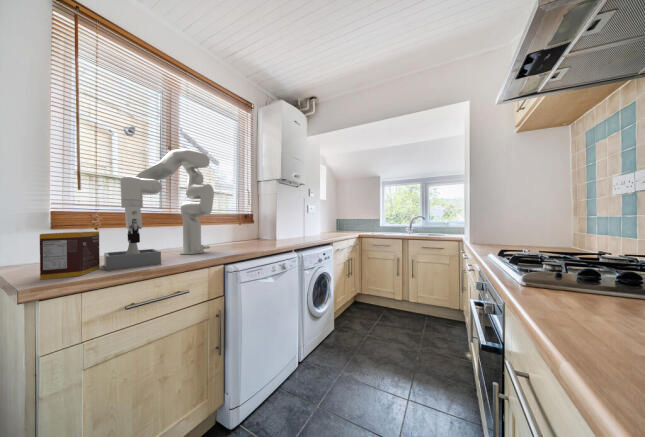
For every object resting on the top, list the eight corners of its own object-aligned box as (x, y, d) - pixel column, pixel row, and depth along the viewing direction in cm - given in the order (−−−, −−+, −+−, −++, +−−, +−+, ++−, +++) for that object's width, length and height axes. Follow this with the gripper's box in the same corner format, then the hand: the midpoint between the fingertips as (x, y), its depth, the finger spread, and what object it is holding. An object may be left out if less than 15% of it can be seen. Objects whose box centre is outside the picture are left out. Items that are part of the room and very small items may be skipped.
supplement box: (100, 268, 95) (99, 231, 96) (80, 276, 82) (80, 232, 82) (65, 271, 91) (65, 232, 91) (39, 279, 77) (38, 233, 77)
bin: (153, 259, 116) (153, 248, 116) (161, 263, 103) (160, 251, 103) (104, 265, 103) (104, 252, 103) (106, 270, 91) (106, 256, 91)
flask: (147, 260, 107) (147, 239, 107) (132, 263, 100) (132, 240, 100) (133, 260, 108) (133, 239, 108) (117, 263, 100) (117, 240, 100)
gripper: (145, 203, 100) (147, 242, 101) (139, 205, 113) (141, 240, 113) (123, 203, 95) (124, 244, 95) (119, 205, 107) (121, 241, 107)
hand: (133, 242), depth 104 cm, fingers open, 9 cm apart
